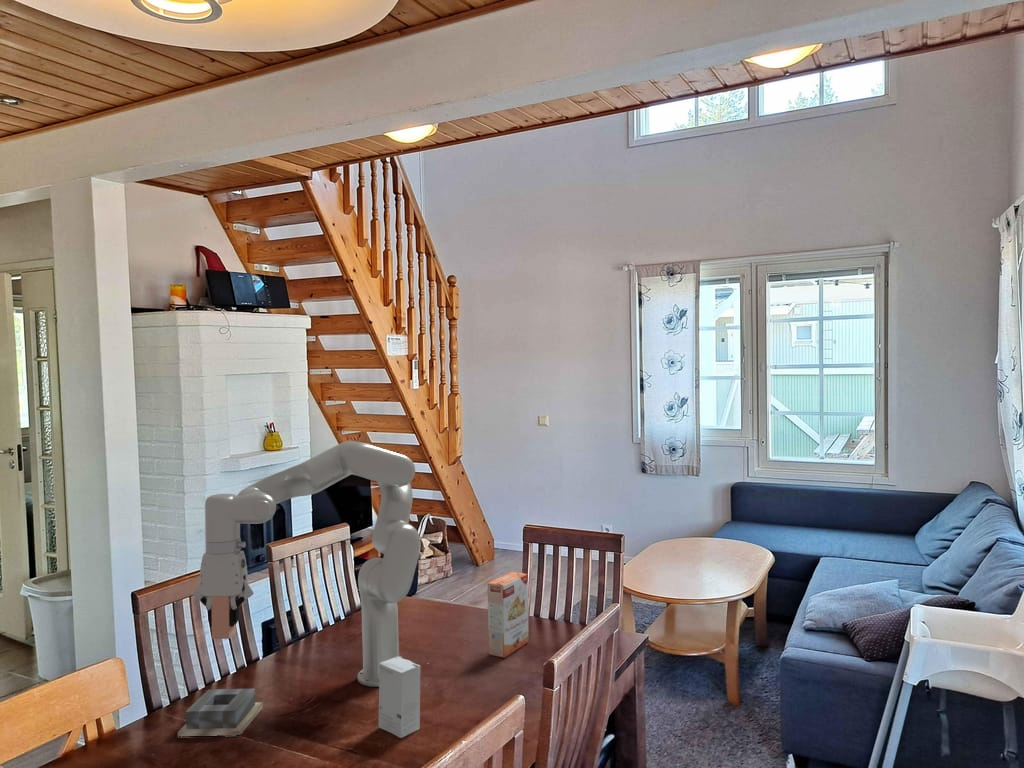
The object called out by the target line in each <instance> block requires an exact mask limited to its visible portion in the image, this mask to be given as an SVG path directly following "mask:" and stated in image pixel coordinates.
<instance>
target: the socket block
mask: <svg viewBox="0 0 1024 768" xmlns="http://www.w3.org/2000/svg"><path fill="white" fill-rule="evenodd" d="M263 706H264V705H263V702H261V701H259V702H256V688H225V689H224V688H221V689H220V688H219V689H217V688H216V689H215V688H213V689H212V688H211V689H210V688H209V689H207V690H206V691H205V693H203V694H202V695H201V696H200V697H199V698H198V699H197V700H196V701H195V702H194V703H193V704H192V705H191V706H190V707H188V708H187V710H186V711H185V724H184V725H183V726H182V727H181V728H180V729H179V730H178V731H177V738H183V737H182V736H217V735H240V734H241V735H242V734H243V733H244V731H245V730H246V729H247V728H248V726H250V724H251V722H252V721H253V720H254V719H255V718H256V716H258V714H259V713H260V712H261V710H262V709H263V708H264V707H263ZM241 735H240V736H241ZM179 736H181V737H179Z"/></svg>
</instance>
